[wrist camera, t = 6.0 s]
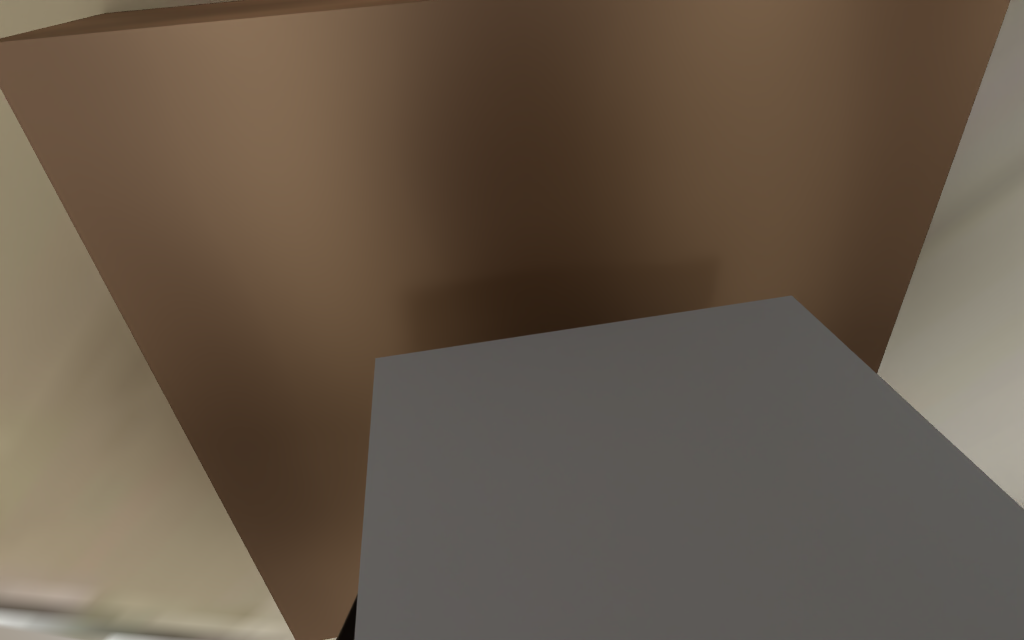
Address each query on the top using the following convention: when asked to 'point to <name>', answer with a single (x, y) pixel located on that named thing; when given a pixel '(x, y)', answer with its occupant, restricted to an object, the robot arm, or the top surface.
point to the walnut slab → (471, 199)
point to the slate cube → (674, 492)
